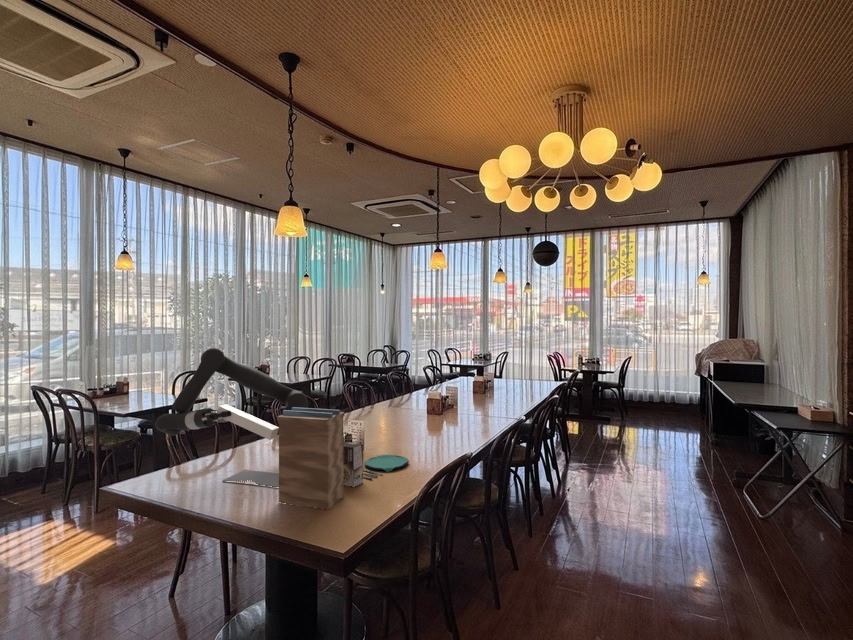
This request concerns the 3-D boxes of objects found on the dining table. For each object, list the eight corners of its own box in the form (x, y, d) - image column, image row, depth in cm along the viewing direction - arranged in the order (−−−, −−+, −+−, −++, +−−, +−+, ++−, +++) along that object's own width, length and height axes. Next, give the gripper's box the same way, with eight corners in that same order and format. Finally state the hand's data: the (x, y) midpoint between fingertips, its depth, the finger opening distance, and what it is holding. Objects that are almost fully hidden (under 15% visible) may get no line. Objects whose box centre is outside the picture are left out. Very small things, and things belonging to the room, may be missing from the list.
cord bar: (223, 413, 179) (225, 403, 179) (276, 437, 172) (278, 427, 172) (216, 415, 176) (218, 405, 175) (269, 439, 168) (272, 430, 168)
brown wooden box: (298, 490, 176) (298, 405, 176) (344, 496, 170) (344, 408, 170) (277, 504, 162) (277, 412, 162) (326, 511, 157) (326, 415, 157)
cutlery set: (416, 463, 210) (416, 458, 210) (374, 483, 185) (374, 477, 185) (384, 456, 221) (384, 452, 221) (340, 474, 197) (340, 469, 197)
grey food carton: (363, 482, 184) (363, 443, 184) (353, 487, 179) (353, 447, 179) (346, 479, 189) (346, 440, 189) (336, 483, 183) (336, 444, 183)
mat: (245, 471, 199) (245, 469, 199) (304, 477, 191) (304, 475, 191) (222, 481, 186) (222, 480, 186) (285, 489, 177) (285, 487, 177)
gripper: (184, 413, 174) (219, 405, 169) (212, 406, 187) (245, 399, 182) (187, 432, 173) (223, 425, 168) (215, 424, 187) (248, 417, 182)
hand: (234, 412), depth 175 cm, fingers closed on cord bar, 4 cm apart
